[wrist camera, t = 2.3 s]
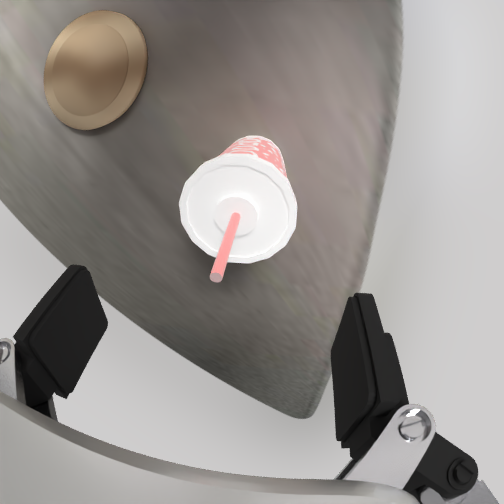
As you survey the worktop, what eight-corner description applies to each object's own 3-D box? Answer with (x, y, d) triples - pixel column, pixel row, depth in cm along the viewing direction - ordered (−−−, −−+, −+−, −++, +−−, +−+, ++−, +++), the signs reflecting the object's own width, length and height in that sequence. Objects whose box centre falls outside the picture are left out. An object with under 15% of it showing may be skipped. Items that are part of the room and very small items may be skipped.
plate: (48, 31, 15) (42, 31, 15) (149, -2, 15) (144, -5, 14) (54, 134, 22) (48, 137, 21) (149, 121, 21) (144, 123, 20)
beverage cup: (302, 135, 20) (324, 223, 9) (283, 206, 24) (277, 344, 12) (222, 118, 20) (136, 183, 9) (210, 190, 24) (142, 312, 12)
